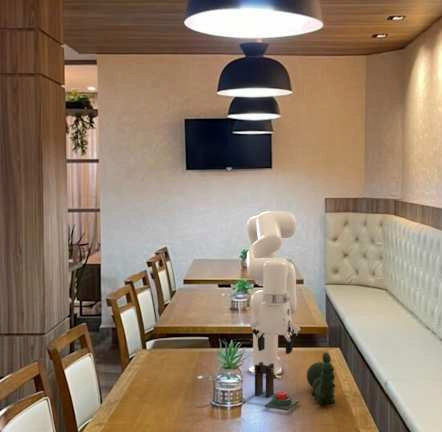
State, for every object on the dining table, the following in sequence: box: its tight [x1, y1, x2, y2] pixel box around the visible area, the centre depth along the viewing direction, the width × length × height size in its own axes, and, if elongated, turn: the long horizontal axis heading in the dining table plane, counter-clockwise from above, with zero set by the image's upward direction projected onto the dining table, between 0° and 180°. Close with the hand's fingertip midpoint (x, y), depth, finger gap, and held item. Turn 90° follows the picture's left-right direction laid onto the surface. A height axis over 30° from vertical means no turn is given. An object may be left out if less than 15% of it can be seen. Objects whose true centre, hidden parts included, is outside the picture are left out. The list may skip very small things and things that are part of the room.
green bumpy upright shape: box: [306, 352, 336, 406], centre depth 223 cm, size 9×19×25 cm
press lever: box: [259, 365, 283, 381], centre depth 227 cm, size 12×5×2 cm, turn 155°
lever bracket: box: [254, 362, 275, 399], centre depth 223 cm, size 12×9×12 cm
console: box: [264, 394, 299, 411], centre depth 214 cm, size 9×8×4 cm
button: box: [276, 391, 288, 400], centre depth 214 cm, size 3×3×2 cm
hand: (274, 351), depth 214 cm, fingers open, 9 cm apart
